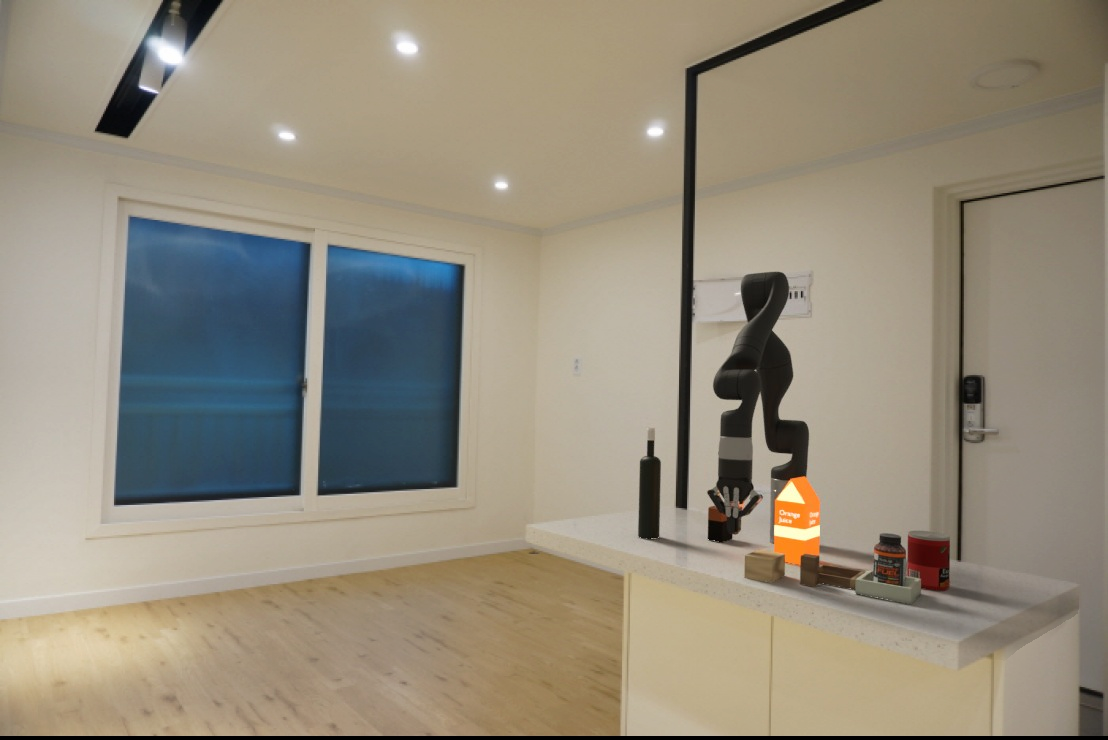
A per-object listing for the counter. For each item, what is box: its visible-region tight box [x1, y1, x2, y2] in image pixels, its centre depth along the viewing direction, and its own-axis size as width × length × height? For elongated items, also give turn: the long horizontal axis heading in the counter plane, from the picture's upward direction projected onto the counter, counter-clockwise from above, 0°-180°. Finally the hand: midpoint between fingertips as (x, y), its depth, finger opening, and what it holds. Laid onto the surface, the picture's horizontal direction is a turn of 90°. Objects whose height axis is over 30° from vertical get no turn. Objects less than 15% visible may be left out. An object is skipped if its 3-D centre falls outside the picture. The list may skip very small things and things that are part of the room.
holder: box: [819, 563, 866, 590], centre depth 151 cm, size 9×9×2 cm
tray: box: [854, 570, 922, 605], centre depth 142 cm, size 10×10×3 cm
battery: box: [707, 505, 733, 543], centre depth 192 cm, size 4×7×10 cm, turn 139°
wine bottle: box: [637, 427, 662, 540], centre depth 193 cm, size 6×6×30 cm
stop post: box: [799, 553, 820, 588], centre depth 148 cm, size 3×3×6 cm
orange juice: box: [773, 476, 821, 566], centre depth 170 cm, size 8×9×20 cm
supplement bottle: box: [872, 532, 907, 587], centre depth 142 cm, size 6×6×11 cm
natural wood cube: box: [743, 549, 786, 584], centre depth 153 cm, size 8×6×5 cm
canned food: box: [906, 530, 951, 592], centre depth 150 cm, size 8×8×11 cm
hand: (733, 533), depth 159 cm, fingers closed
